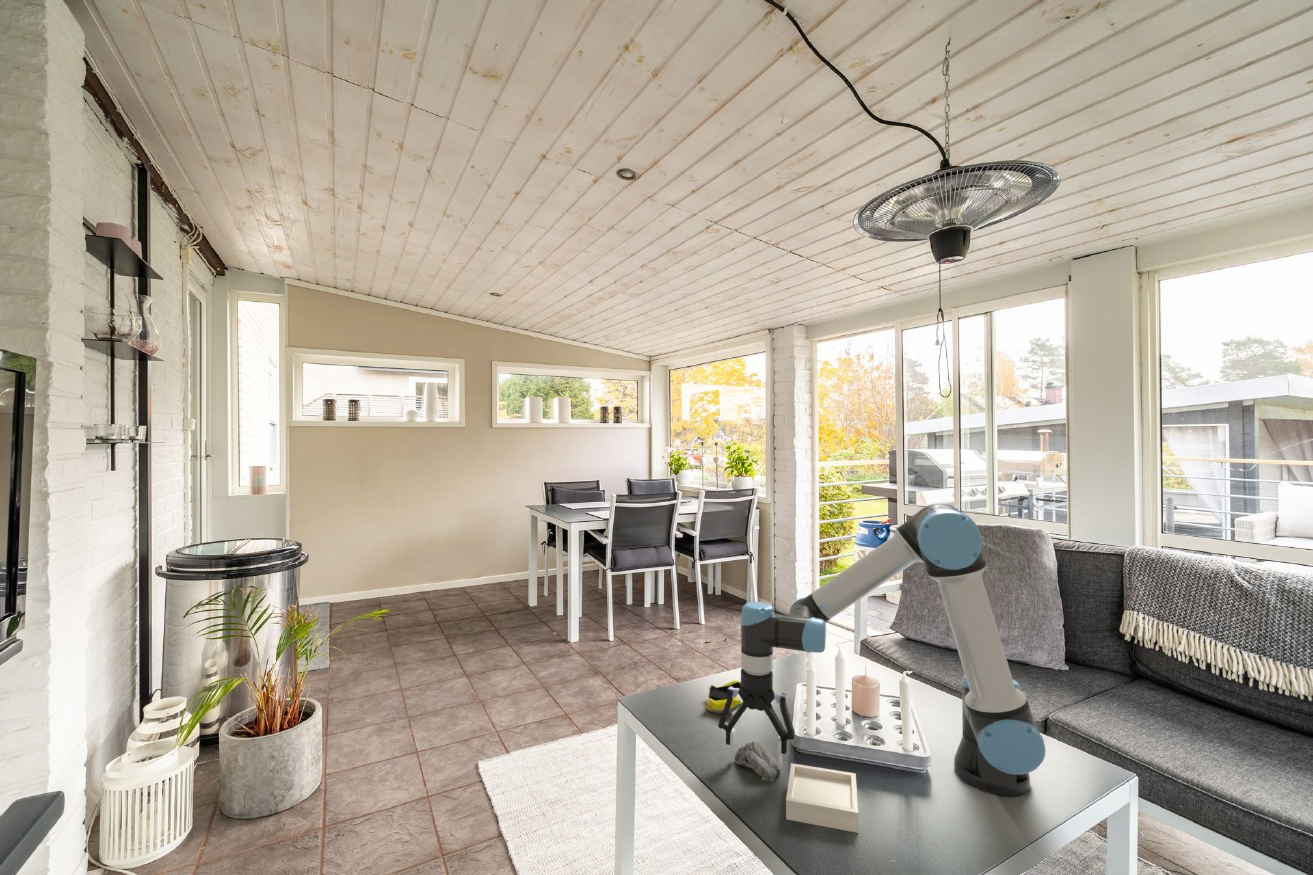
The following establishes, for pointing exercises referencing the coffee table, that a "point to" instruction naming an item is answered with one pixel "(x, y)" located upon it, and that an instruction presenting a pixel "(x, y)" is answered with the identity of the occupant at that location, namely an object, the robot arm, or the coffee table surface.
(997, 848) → the coffee table surface
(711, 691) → the yellow black shoe
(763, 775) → the grey rock
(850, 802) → the small open wooden box
